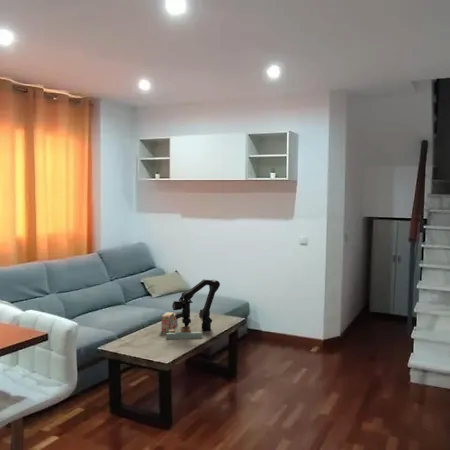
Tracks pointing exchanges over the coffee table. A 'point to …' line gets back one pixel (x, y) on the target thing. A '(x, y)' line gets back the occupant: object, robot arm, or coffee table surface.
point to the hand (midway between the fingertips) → (186, 328)
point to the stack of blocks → (168, 321)
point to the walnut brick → (186, 329)
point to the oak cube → (171, 331)
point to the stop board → (184, 335)
